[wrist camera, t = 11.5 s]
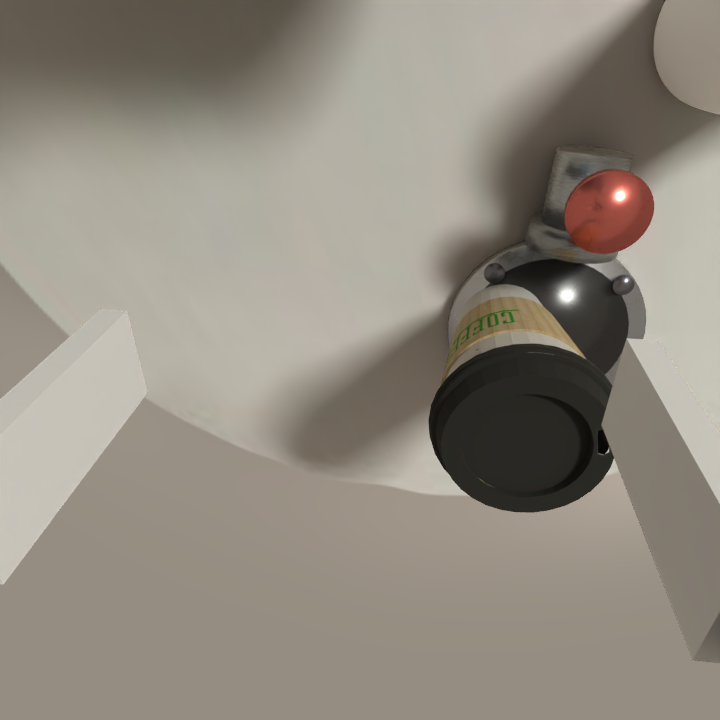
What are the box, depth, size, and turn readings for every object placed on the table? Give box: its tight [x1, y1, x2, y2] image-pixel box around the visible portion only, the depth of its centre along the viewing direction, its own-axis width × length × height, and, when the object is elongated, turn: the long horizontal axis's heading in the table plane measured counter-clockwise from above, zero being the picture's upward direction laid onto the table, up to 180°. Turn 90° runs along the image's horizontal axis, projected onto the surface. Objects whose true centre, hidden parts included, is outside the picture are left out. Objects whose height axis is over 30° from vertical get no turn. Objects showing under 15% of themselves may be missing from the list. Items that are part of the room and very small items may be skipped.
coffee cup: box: [429, 284, 614, 512], centre depth 35 cm, size 10×10×15 cm
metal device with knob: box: [448, 145, 654, 385], centre depth 38 cm, size 20×14×9 cm
